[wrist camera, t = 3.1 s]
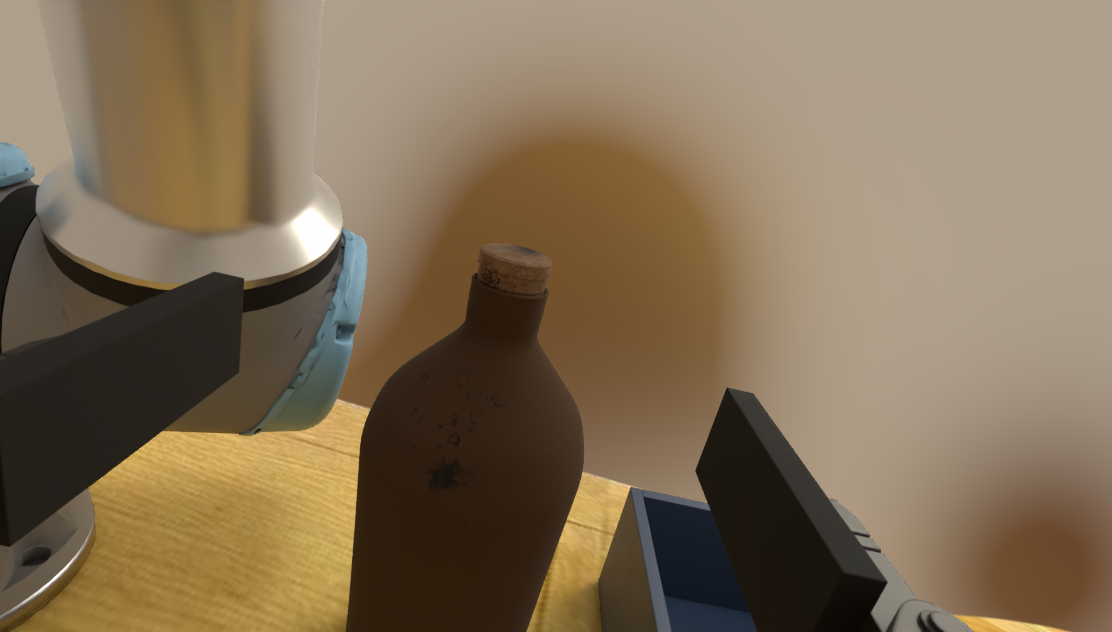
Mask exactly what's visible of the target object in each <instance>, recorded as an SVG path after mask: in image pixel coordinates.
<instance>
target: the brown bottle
mask: <svg viewBox="0 0 1112 632" xmlns="http://www.w3.org/2000/svg"><path fill="white" fill-rule="evenodd" d="M478 262H479V269H478V273H475V274H474V275H473V276H472V282H471V288H470V293H469V299H468V306H467V313H466V319H465V321H464V323H463V324H462V325H461V326H460V327H459V328H458V329H457V330H455V331H454V332H452V333H451V334H449V335H448V336H446V337H445V338H443V339H442V340H440V341H439V342H437V343H435V344H434V345H432V346H431V347H429V348H428V349H426V350H425V351H423V352H421V353H420V354H419V355H417V356H415V357H414V358H412V359H411V360H410V361H408V362H407V363H405V364H404V365H403V366H401V368H399V369H398V370H397V371H396V372H395V373H394V374H393V375H392V376H391V377H390V378H389V379H388V381H387V382H386V383H385V385H384V386H383V388H382V389H381V391H380V393H379V394H378V396H377V398H376V400H375V402H374V404H373V406H372V408H371V410H370V412H369V414H368V417H367V419H366V422H365V425H364V429H363V433H362V438H361V445H360V456H359V471H358V486H357V501H356V516H355V531H354V544H353V556H352V569H351V582H350V594H349V606H348V616H347V625H346V632H526V631H527V628H528V626H529V623H530V620H531V617H532V614H533V611H534V609H535V606H536V603H537V600H538V597H539V595H540V592H541V589H542V586H543V583H544V580H545V578H546V575H547V572H548V569H549V566H550V564H551V561H552V558H553V555H554V553H555V550H556V547H557V544H558V542H559V539H560V536H561V533H562V531H563V528H564V525H565V523H566V520H567V517H568V514H569V512H570V509H571V506H572V504H573V501H574V498H575V495H576V493H577V490H578V487H579V483H580V480H581V476H582V471H583V463H584V439H583V427H582V421H581V418H580V414H579V411H578V408H577V406H576V403H575V401H574V400H573V398H572V396H571V394H570V392H569V391H568V389H567V388H566V386H565V384H564V383H563V381H562V380H561V378H560V376H559V375H558V373H557V372H556V371H555V369H554V367H553V366H552V364H551V363H550V361H549V359H548V358H547V356H546V355H545V353H544V352H543V350H542V348H541V346H540V344H539V342H538V339H537V333H538V330H539V326H540V323H541V320H542V316H543V312H544V308H545V304H546V300H547V296H548V290H547V289H546V287H545V286H546V282H547V278H549V276H550V273H551V269H552V261H551V260H550V259H549V258H548V257H546V256H545V255H543V254H541V253H539V252H537V251H534V250H531V249H528V248H525V247H520V246H516V245H511V244H503V243H490V244H486V245H483V246H482V247H481V249H480V254H479V259H478Z"/></svg>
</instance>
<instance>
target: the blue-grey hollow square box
mask: <svg viewBox="0 0 1112 632" xmlns="http://www.w3.org/2000/svg"><path fill="white" fill-rule="evenodd" d="M599 593H600V606H601V619H602V632H757V629H756V627H755V624H754V621H753V619H752V616H751V614H750V611H749V609H748V606H747V603H746V601H745V598H744V596H743V593H742V590H741V588H740V585H739V583H738V580H737V577H736V575H735V572H734V570H733V567H732V565H731V562H730V559H729V557H728V554H727V552H726V549H725V546H724V544H723V541H722V539H721V536H720V533H719V531H718V528H717V526H716V523H715V520H714V518H713V515H712V513H711V510H710V508H709V505H708V503H703V502H698V501H694V500H689V499H685V498H680V497H675V496H671V495H666V494H661V493H657V492H652V491H647V490H643V489H642V490H641V489H638V488H633V487H631V488H630V491H629V494H628V496H627V499H626V502H625V505H624V508H623V511H622V514H621V517H620V520H619V523H618V526H617V529H616V531H615V534H614V537H613V540H612V543H611V546H610V549H609V552H608V555H607V558H606V561H605V563H604V566H603V569H602V572H601V575H600V578H599Z"/></svg>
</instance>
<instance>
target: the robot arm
mask: <svg viewBox="0 0 1112 632" xmlns="http://www.w3.org/2000/svg"><path fill="white" fill-rule="evenodd" d="M37 3H38V8H39V12H40V16H41V20H42V25H43V28H44V33H45V37H46V42H47V46H48V50H49V54H50V59H51V63H52V67H53V71H54V76H55V80H56V84H57V88H58V93H59V97H60V101H61V105H62V110H63V114H64V118H65V123H66V127H67V131H68V135H69V140H70V144H71V148H72V152H73V155H72V156H70V157H68V158H67V159H65V160H64V161H63V162H61V163H60V164H59V165H57V166H56V167H54V168H53V169H52V170H51V171H50V172H49V173H48V174H47V175H46V176H45V178H44V179H43V181H42V182H41V184H40V185H35V184H34V183H32V182H31V181H30V180H31V178H32V177H33V176H34V167H32V166H31V165H30V163H29V161H28V159H27V157H26V155H25V153H24V152H23V151H22V150H21V149H19V148H18V147H16V146H14V145H12V144H10V143H0V632H8V631H10V630H11V629H13V628H15V627H16V626H17V625H19V624H20V623H22V622H23V621H25V620H26V619H28V618H29V617H31V616H32V615H33V614H34V613H36V612H37V611H38V610H40V609H41V608H42V607H44V606H45V605H46V604H47V603H48V602H49V601H51V600H52V599H53V598H54V597H55V596H56V595H57V594H58V593H59V592H60V591H61V590H62V589H63V588H64V587H65V586H66V585H67V584H68V583H69V582H70V581H71V580H72V579H73V577H74V576H75V575H76V574H77V573H78V571H79V570H80V568H81V567H82V565H83V564H84V562H85V560H86V559H87V557H88V555H89V553H90V550H91V548H92V545H93V542H94V537H95V512H94V505H93V502H92V499H91V495H90V492H89V489H88V487H89V486H91V485H92V484H93V483H95V482H96V481H97V480H99V479H100V478H101V477H103V476H104V475H105V474H107V473H108V472H109V471H110V470H112V469H113V468H114V467H116V466H117V465H118V464H120V463H121V462H122V461H124V460H125V459H126V458H128V457H129V456H130V455H131V454H133V453H134V452H135V451H137V450H138V449H139V448H141V447H142V446H143V445H145V444H146V443H147V442H149V441H150V440H151V439H153V438H154V437H155V436H156V435H158V434H159V433H160V432H162V431H178V432H206V433H234V434H239V435H243V436H251V435H255V434H258V433H260V432H276V431H301V430H306V429H309V428H311V427H314V426H315V425H317V424H318V423H320V422H321V421H322V420H323V419H324V418H325V417H326V416H327V415H328V414H329V412H330V411H331V409H332V407H333V405H334V403H335V401H336V399H337V397H338V394H339V392H340V389H341V386H342V383H343V380H344V377H345V374H346V371H347V367H348V364H349V360H350V356H351V352H352V347H353V341H354V335H353V333H354V331H355V330H356V327H357V322H358V319H359V316H360V312H361V307H362V301H363V296H364V289H365V282H366V273H367V246H366V243H365V241H364V240H363V238H362V237H360V236H359V235H357V234H354V233H351V232H350V231H348V230H347V229H345V228H342V226H343V216H342V211H341V207H340V204H339V201H338V199H337V197H336V196H335V194H334V193H333V191H332V190H331V189H330V188H329V187H328V185H327V184H326V183H325V182H324V181H323V180H321V179H320V178H319V177H318V176H317V175H316V174H315V173H313V161H314V147H315V131H316V116H317V100H318V85H319V69H320V54H321V39H322V24H323V9H324V0H37ZM696 474H697V476H698V479H699V481H700V484H701V487H702V489H703V492H704V494H705V497H706V500H707V502H708V505H709V508H710V510H711V513H712V515H713V518H714V520H715V523H716V526H717V528H718V531H719V533H720V536H721V539H722V541H723V544H724V546H725V549H726V552H727V554H728V557H729V559H730V562H731V565H732V567H733V570H734V572H735V575H736V577H737V580H738V583H739V585H740V588H741V590H742V593H743V596H744V598H745V601H746V603H747V606H748V609H749V611H750V614H751V616H752V619H753V621H754V624H755V627H756V629H757V632H973V631H972V630H971V629H970V628H969V627H968V626H967V625H966V624H965V623H964V622H962V621H961V620H959V619H958V618H956V617H955V616H954V615H952V614H951V613H949V612H948V611H946V610H944V609H942V608H940V607H938V606H936V605H934V604H932V603H929V602H925V601H922V600H918V598H917V597H916V596H915V595H914V593H913V592H912V590H911V589H910V588H909V586H908V585H907V584H906V582H905V581H904V580H903V578H902V577H901V576H900V575H899V573H898V572H897V570H896V569H895V568H894V566H893V565H892V564H891V562H890V561H889V560H888V559H887V557H886V556H885V555H884V554H882V553H881V549H880V548H879V547H878V545H877V544H876V543H875V541H874V540H873V539H872V538H870V535H869V533H868V532H867V531H866V529H865V528H864V527H863V526H862V524H861V523H860V522H859V520H858V519H857V518H856V517H855V516H854V515H853V514H852V513H851V512H850V511H848V510H847V509H846V508H845V507H844V506H843V505H841V504H840V503H839V502H838V501H837V500H834V499H829V498H828V497H827V496H826V495H825V493H824V492H823V490H822V489H821V488H820V486H819V485H818V484H817V482H816V481H815V479H814V478H813V476H812V475H811V474H810V472H809V471H808V469H807V468H806V467H805V465H804V464H803V463H802V461H801V460H800V458H799V457H798V455H797V454H796V453H795V451H794V450H793V448H792V447H791V446H790V444H789V443H788V441H787V440H786V439H785V437H784V436H783V434H782V433H781V432H780V430H779V429H778V427H777V426H776V425H775V423H774V422H773V420H772V419H771V418H770V416H769V415H768V413H767V412H766V411H765V410H764V408H763V406H762V405H761V404H760V402H759V401H758V399H757V398H756V397H755V395H754V394H753V393H749V392H744V391H740V390H735V389H731V388H727V389H726V391H725V394H724V396H723V399H722V402H721V404H720V407H719V410H718V412H717V415H716V418H715V420H714V423H713V425H712V428H711V431H710V434H709V436H708V439H707V441H706V444H705V447H704V449H703V452H702V455H701V457H700V460H699V462H698V465H697V468H696Z"/></svg>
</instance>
